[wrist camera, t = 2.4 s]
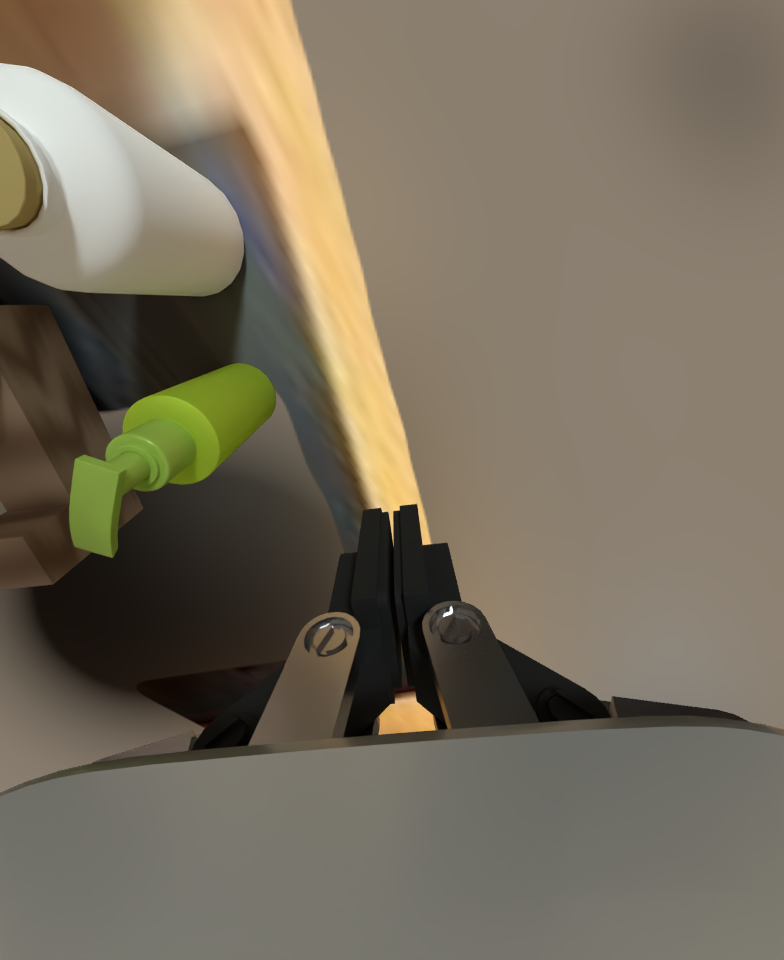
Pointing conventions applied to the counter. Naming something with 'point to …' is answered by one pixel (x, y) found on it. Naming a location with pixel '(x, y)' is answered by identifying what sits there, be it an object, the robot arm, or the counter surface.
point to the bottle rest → (42, 447)
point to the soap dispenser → (167, 447)
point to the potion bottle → (104, 200)
